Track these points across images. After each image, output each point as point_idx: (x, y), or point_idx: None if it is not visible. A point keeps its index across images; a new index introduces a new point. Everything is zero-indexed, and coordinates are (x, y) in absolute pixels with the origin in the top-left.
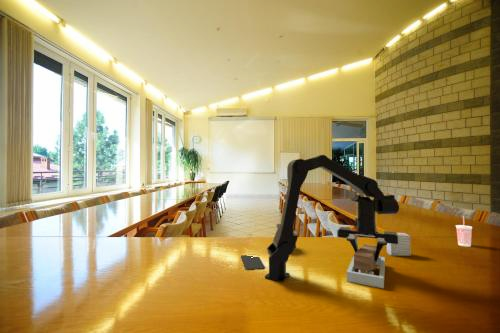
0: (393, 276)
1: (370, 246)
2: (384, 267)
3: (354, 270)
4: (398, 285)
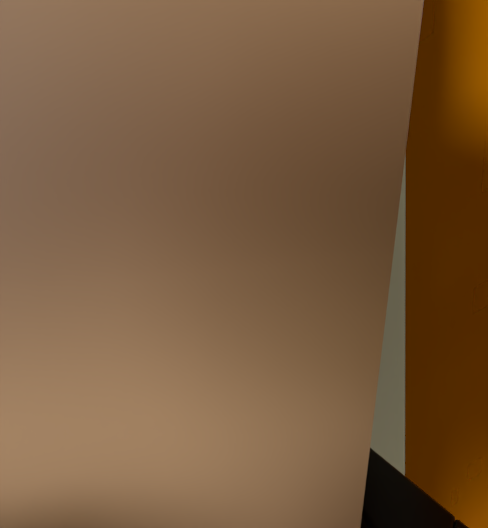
0: (449, 285)
1: (147, 192)
2: None
3: None
4: (477, 465)
